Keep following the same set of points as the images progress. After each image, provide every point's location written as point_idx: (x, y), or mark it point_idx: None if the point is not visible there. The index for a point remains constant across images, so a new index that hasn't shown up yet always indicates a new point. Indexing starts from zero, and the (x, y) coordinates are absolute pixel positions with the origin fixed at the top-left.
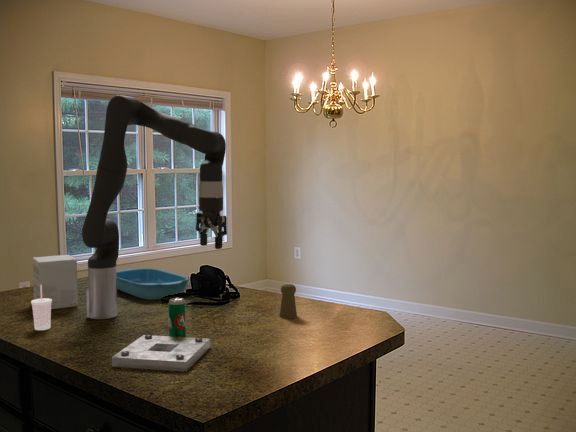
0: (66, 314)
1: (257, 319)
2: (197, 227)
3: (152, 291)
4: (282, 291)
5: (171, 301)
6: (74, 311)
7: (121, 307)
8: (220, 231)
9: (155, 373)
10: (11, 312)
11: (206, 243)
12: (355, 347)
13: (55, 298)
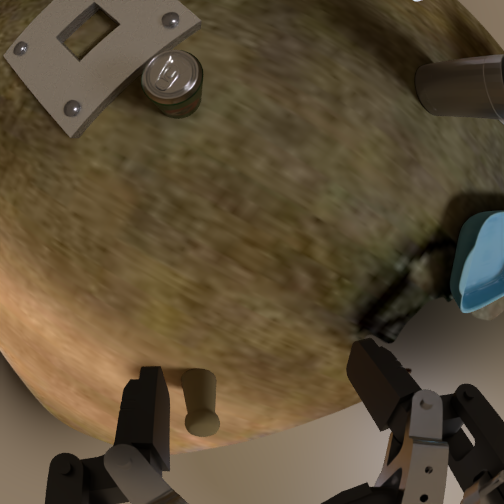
0: None
1: (212, 330)
2: (471, 409)
3: (470, 229)
4: (199, 412)
5: (165, 52)
6: None
7: (459, 153)
8: (48, 483)
9: None
10: (488, 37)
11: (350, 376)
12: (5, 345)
13: None
